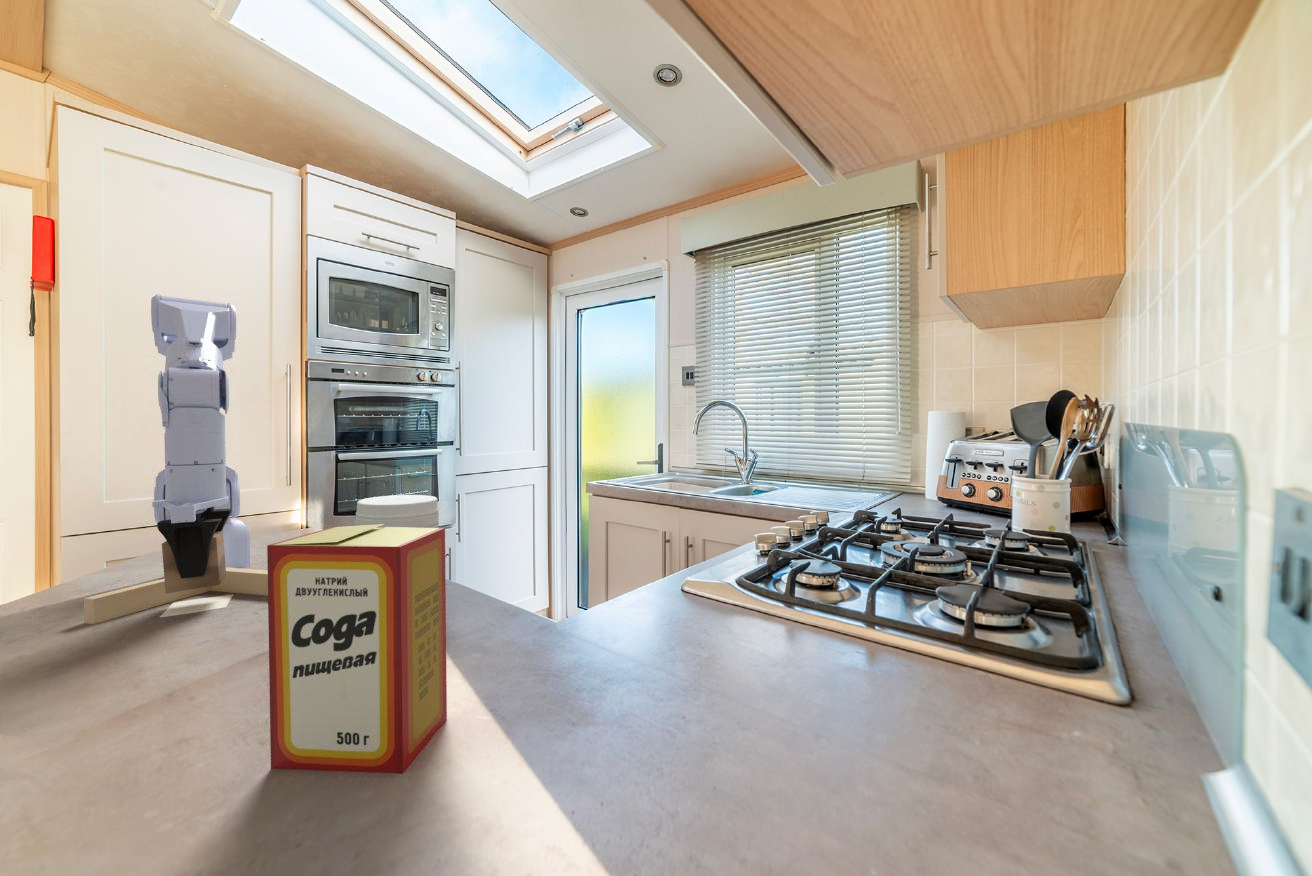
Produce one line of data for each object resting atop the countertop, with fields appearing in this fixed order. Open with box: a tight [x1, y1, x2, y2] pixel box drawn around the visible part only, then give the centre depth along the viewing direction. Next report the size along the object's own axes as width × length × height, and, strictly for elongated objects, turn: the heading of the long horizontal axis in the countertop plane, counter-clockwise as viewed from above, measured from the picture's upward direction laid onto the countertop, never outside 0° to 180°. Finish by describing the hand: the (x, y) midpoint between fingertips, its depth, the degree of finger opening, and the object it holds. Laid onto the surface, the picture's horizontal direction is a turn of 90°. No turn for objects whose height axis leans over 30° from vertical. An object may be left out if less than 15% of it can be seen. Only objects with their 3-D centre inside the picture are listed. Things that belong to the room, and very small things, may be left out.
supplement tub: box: [354, 494, 440, 528], centre depth 66 cm, size 10×10×15 cm
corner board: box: [83, 567, 268, 625], centre depth 64 cm, size 14×19×4 cm
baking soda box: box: [266, 524, 448, 774], centre depth 39 cm, size 10×6×16 cm
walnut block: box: [161, 531, 226, 594], centre depth 65 cm, size 5×5×6 cm
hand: (198, 571), depth 65 cm, fingers closed on walnut block, 5 cm apart
